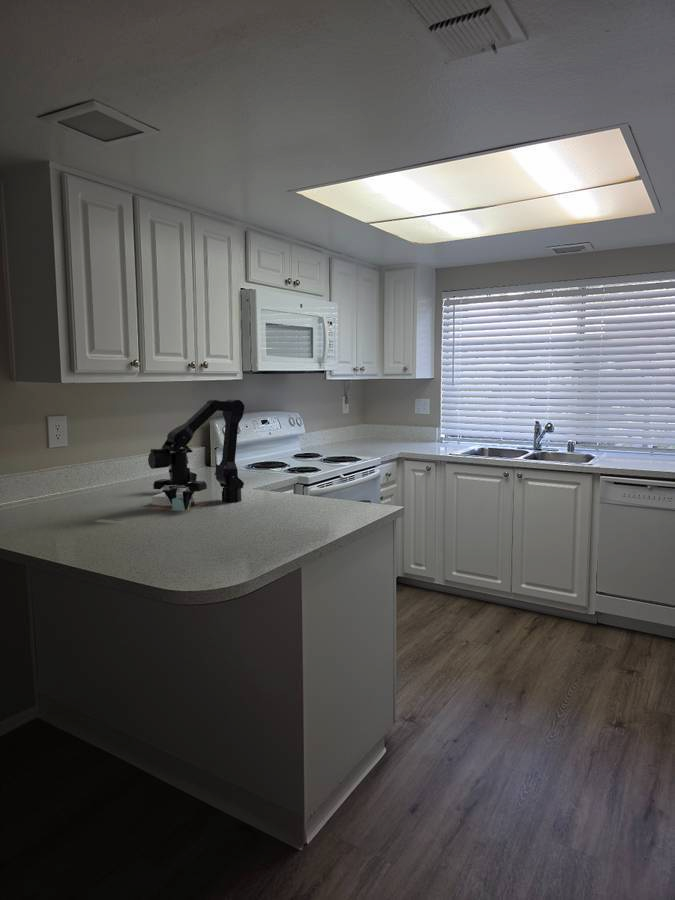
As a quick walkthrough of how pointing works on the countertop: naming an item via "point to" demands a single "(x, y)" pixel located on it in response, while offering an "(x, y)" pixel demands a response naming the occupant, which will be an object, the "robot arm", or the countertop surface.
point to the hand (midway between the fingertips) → (180, 508)
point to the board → (163, 507)
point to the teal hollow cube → (178, 504)
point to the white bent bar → (163, 499)
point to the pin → (192, 501)
